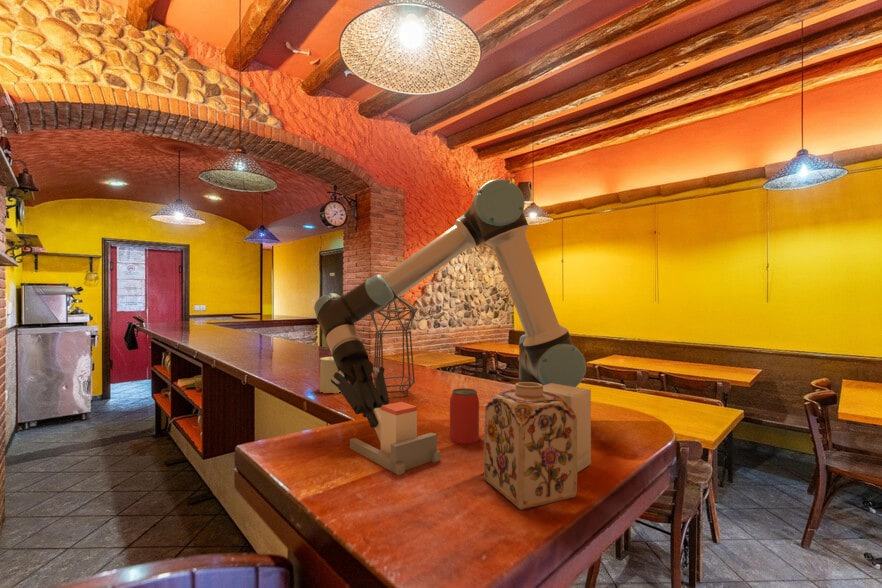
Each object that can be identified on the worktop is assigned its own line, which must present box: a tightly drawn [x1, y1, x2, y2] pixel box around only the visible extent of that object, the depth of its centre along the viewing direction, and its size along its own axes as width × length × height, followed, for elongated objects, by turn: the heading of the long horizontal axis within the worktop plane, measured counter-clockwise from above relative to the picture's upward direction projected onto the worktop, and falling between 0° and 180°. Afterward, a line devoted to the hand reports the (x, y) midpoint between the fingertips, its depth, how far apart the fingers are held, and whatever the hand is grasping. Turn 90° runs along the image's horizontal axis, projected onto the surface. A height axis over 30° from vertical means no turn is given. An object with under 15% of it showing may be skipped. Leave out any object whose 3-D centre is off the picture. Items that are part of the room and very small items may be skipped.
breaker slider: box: [380, 401, 418, 455], centre depth 77 cm, size 5×5×10 cm
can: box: [318, 356, 341, 394], centre depth 140 cm, size 9×9×12 cm
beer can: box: [448, 387, 480, 444], centre depth 88 cm, size 7×7×12 cm
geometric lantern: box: [369, 296, 420, 398], centre depth 135 cm, size 16×16×35 cm
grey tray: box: [349, 432, 441, 476], centre depth 78 cm, size 20×12×6 cm, turn 42°
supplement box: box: [543, 383, 592, 474], centre depth 78 cm, size 9×9×15 cm
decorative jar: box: [483, 381, 578, 510], centre depth 68 cm, size 12×12×18 cm
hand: (386, 439), depth 80 cm, fingers closed
